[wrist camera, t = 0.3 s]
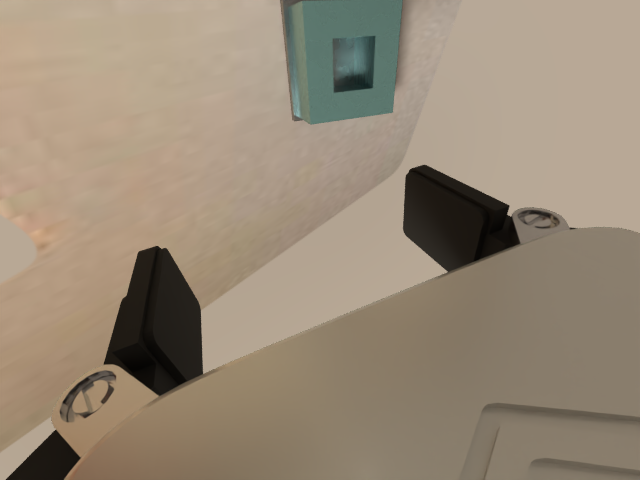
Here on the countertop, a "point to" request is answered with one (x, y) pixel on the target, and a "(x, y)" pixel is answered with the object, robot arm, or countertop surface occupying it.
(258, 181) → the countertop surface
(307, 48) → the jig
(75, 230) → the countertop surface
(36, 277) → the countertop surface
